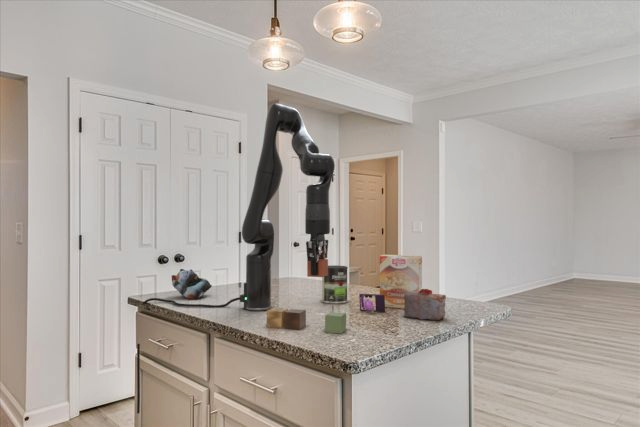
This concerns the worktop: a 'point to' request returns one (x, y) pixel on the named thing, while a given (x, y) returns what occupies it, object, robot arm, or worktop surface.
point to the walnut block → (295, 319)
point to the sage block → (335, 322)
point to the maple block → (276, 317)
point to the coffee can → (335, 285)
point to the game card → (368, 304)
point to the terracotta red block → (321, 268)
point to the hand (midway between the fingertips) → (317, 273)
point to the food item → (424, 305)
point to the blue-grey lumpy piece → (190, 284)
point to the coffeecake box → (399, 278)
